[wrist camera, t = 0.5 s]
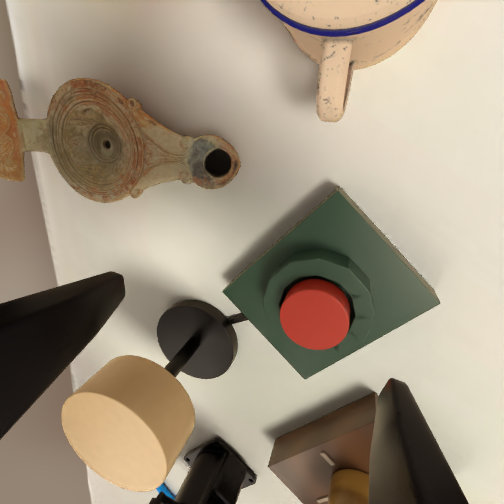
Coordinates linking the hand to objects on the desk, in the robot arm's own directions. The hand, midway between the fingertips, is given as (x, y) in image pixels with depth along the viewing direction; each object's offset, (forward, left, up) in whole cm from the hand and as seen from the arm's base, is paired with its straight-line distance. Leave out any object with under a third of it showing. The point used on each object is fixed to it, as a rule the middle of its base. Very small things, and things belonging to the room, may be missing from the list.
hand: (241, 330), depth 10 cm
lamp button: (-3, -5, -11) cm, 13 cm away
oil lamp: (-7, +14, -15) cm, 22 cm away
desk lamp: (-14, -2, -15) cm, 21 cm away
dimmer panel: (-12, -20, -15) cm, 27 cm away
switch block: (-3, -5, -15) cm, 16 cm away
